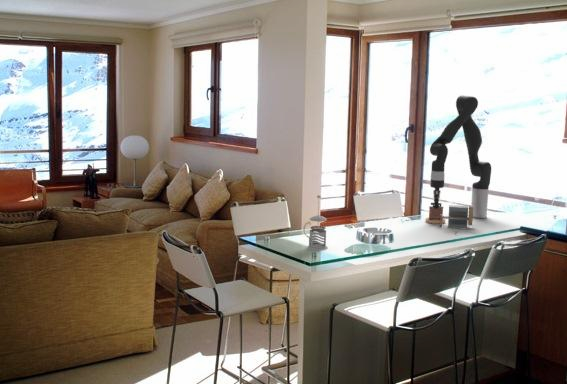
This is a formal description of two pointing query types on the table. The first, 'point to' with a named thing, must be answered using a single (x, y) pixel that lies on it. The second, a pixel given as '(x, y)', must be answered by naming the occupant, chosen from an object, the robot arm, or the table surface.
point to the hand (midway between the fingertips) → (436, 207)
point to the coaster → (434, 221)
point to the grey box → (457, 212)
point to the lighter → (435, 212)
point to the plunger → (470, 217)
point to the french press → (312, 243)
